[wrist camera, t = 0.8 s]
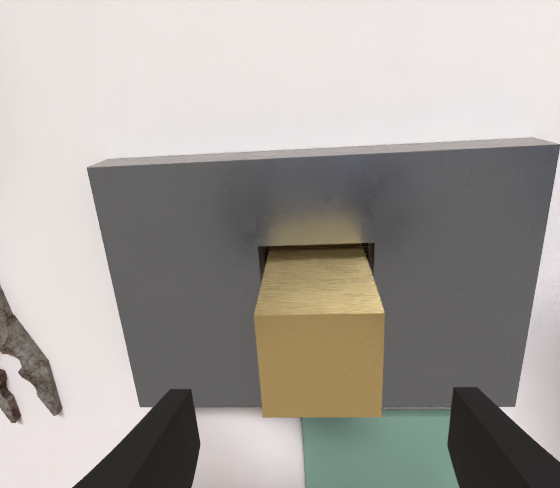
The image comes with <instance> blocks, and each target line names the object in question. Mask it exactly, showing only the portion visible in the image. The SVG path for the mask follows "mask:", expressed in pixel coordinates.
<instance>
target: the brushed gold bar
mask: <svg viewBox="0 0 560 488" xmlns="http://www.w3.org/2000/svg"><path fill="white" fill-rule="evenodd" d="M254 323H255V334H256V345H257V356H258V367H259V377H260V388H261V399H262V410H263V417H382V387H383V356H384V326H385V312H384V309H383V306H382V303H381V300H380V297H379V294H378V291H377V288H376V285H375V282H374V279H373V276H372V273H371V269H370V266H369V263H368V260H367V257H366V254H365V251H364V248H363V245H362V243H346V244H315V245H284V246H270V249H269V253H268V257H267V262H266V266H265V270H264V274H263V279H262V283H261V287H260V291H259V296H258V300H257V304H256V308H255V313H254Z"/></svg>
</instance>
